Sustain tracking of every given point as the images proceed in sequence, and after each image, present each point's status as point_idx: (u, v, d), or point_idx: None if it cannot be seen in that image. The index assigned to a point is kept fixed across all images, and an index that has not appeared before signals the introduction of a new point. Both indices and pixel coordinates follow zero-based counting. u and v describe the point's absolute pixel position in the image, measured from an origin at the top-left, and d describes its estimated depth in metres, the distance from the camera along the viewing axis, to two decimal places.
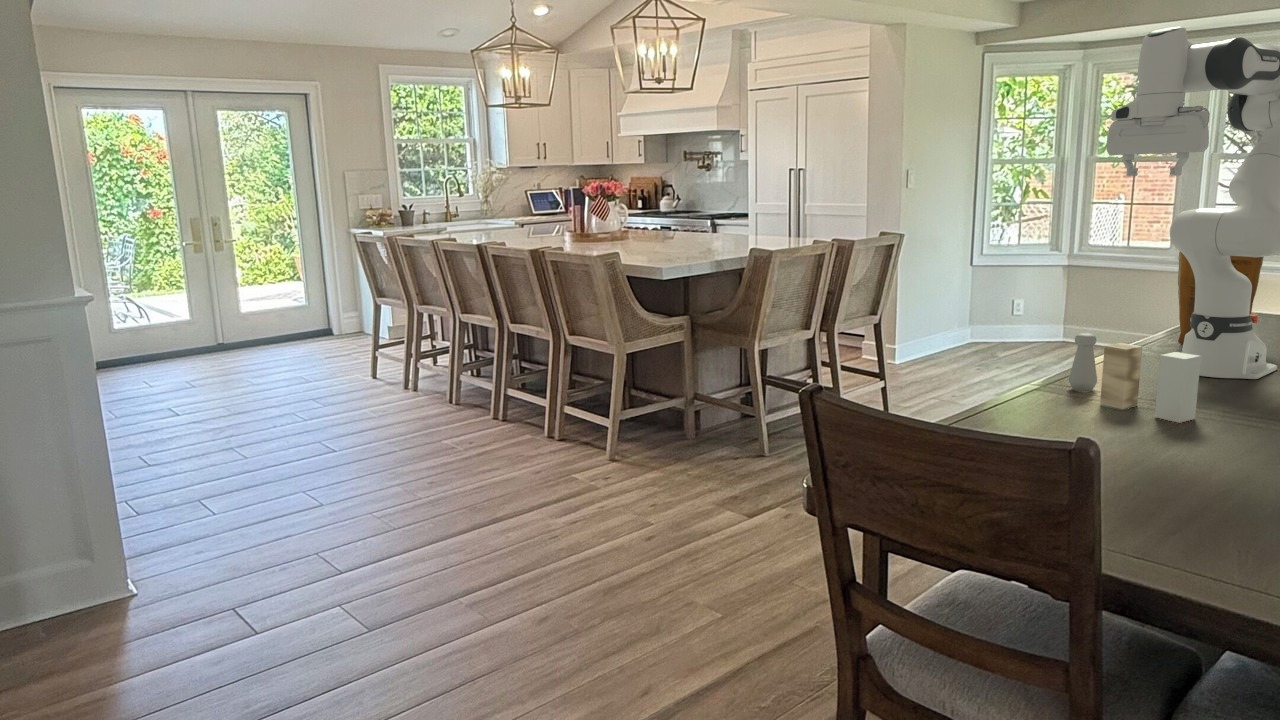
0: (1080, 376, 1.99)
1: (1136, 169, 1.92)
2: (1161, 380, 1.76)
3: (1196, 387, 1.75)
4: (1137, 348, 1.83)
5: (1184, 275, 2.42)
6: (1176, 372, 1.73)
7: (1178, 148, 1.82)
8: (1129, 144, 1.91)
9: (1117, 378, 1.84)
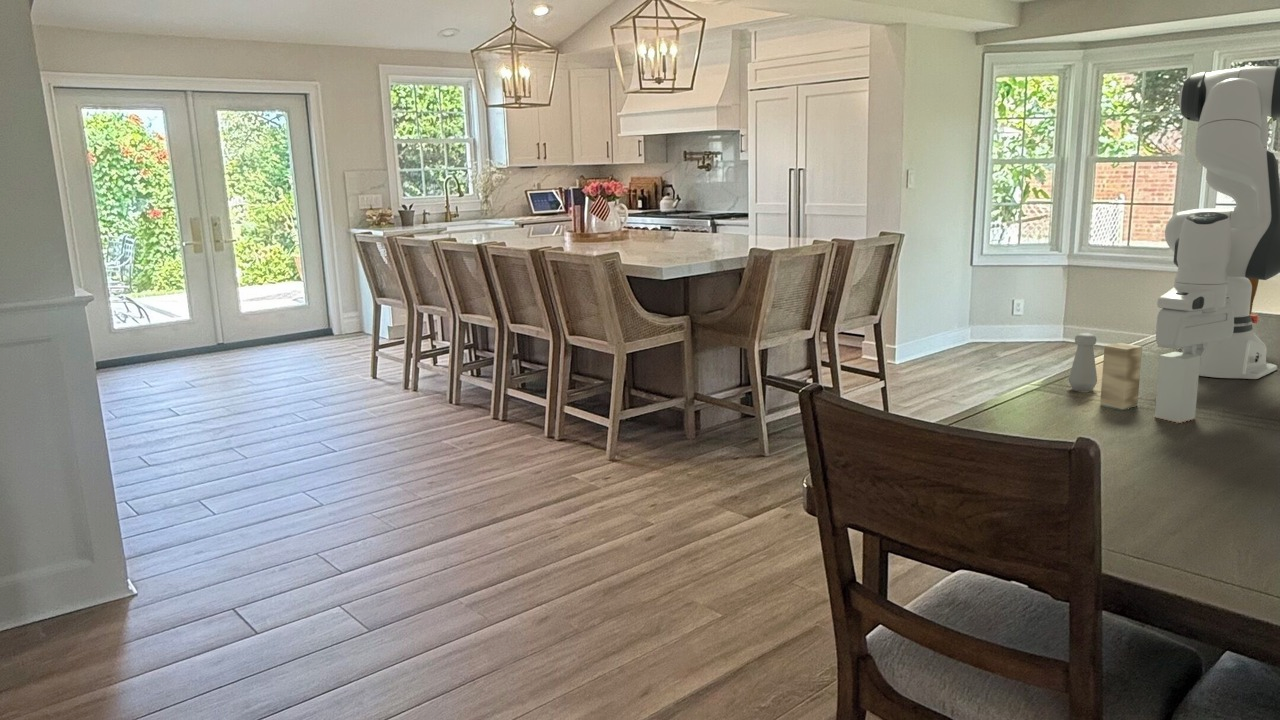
0: (1080, 376, 1.99)
1: None
2: (1160, 380, 1.76)
3: (1196, 387, 1.75)
4: (1137, 348, 1.83)
5: None
6: (1175, 372, 1.73)
7: (1222, 336, 1.77)
8: (1190, 335, 1.72)
9: (1117, 378, 1.84)
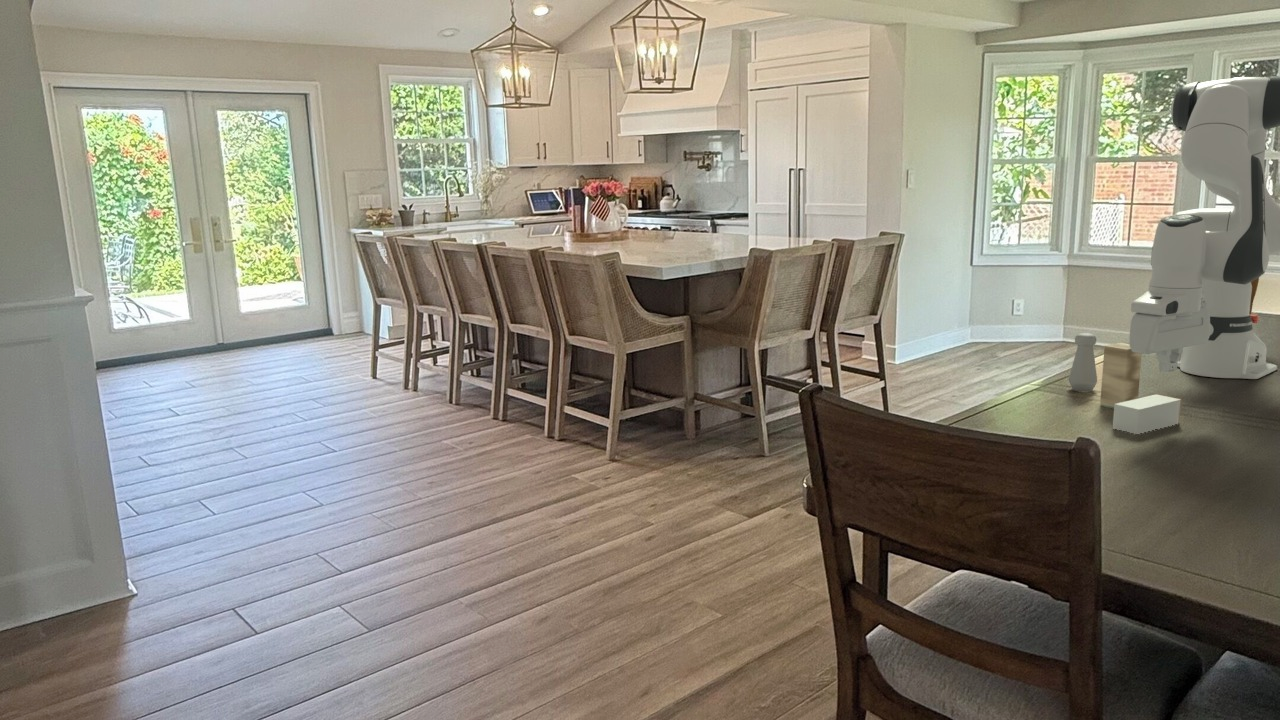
0: (1080, 376, 1.99)
1: None
2: None
3: (1159, 406, 1.70)
4: None
5: None
6: None
7: (1198, 340, 1.73)
8: (1165, 340, 1.68)
9: (1117, 378, 1.84)
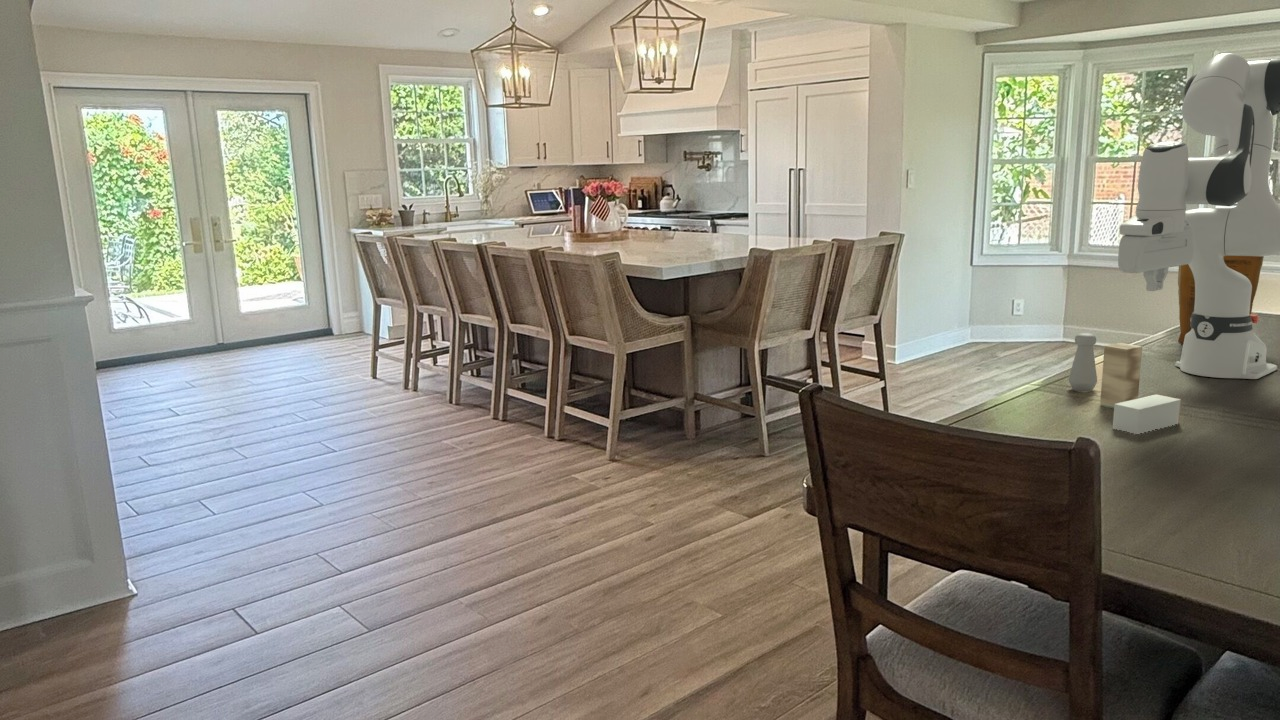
0: (1080, 376, 1.99)
1: None
2: None
3: (1159, 406, 1.70)
4: (1137, 348, 1.83)
5: (1184, 275, 2.42)
6: None
7: (1182, 261, 1.84)
8: (1151, 260, 1.79)
9: (1117, 378, 1.84)
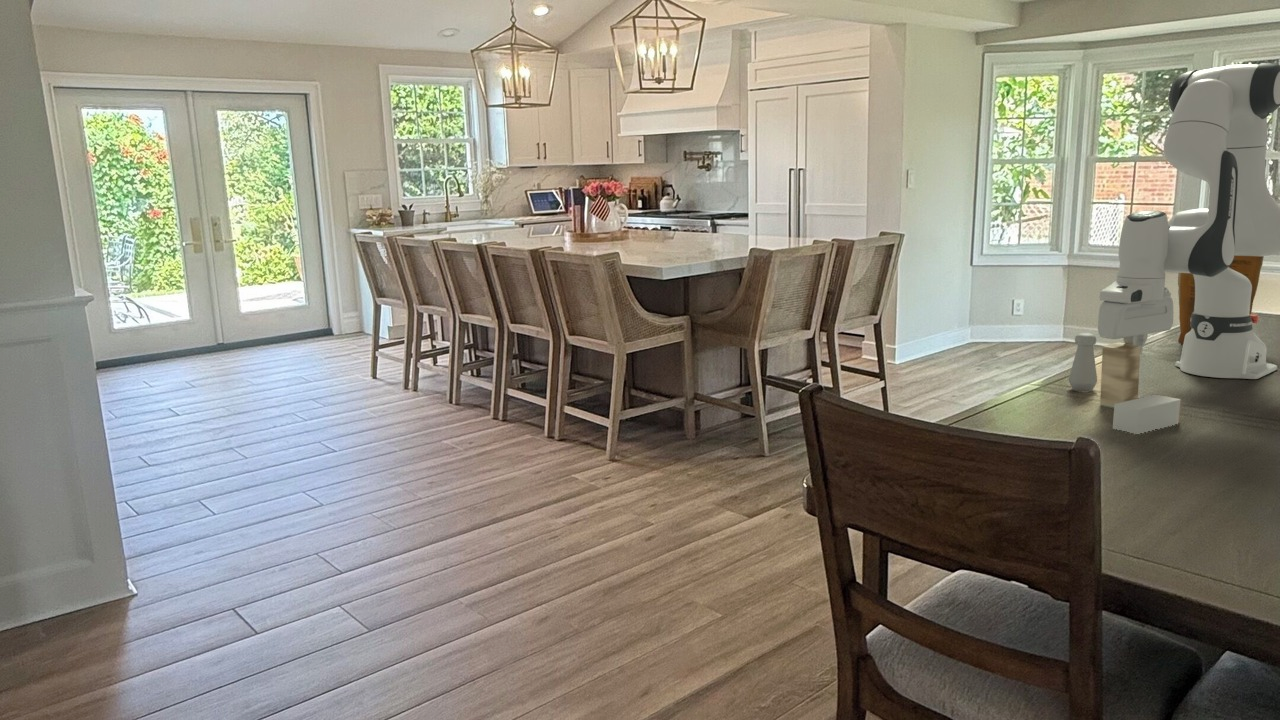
0: (1080, 376, 1.99)
1: None
2: None
3: (1159, 407, 1.70)
4: (1135, 348, 1.83)
5: (1184, 275, 2.42)
6: None
7: (1162, 327, 1.87)
8: (1130, 326, 1.82)
9: (1116, 378, 1.84)
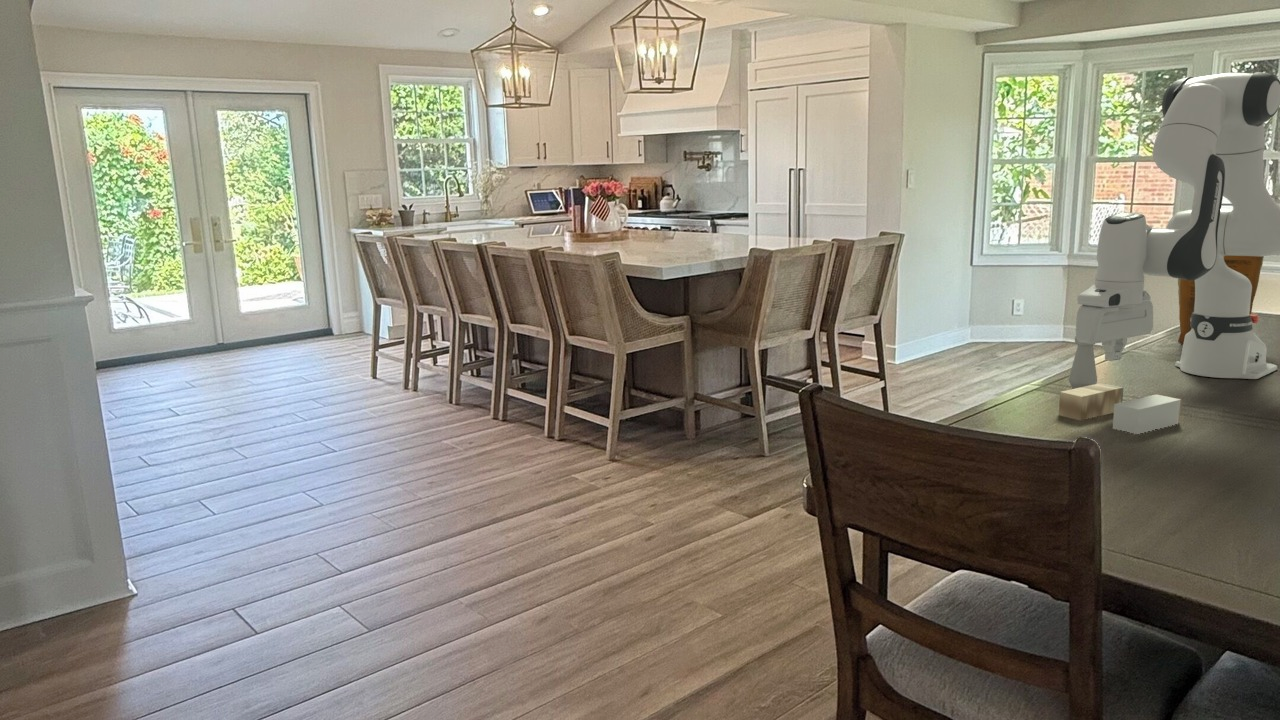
0: (1080, 376, 1.99)
1: None
2: None
3: (1159, 407, 1.70)
4: (1082, 403, 1.78)
5: None
6: None
7: (1141, 331, 1.84)
8: (1109, 331, 1.79)
9: None
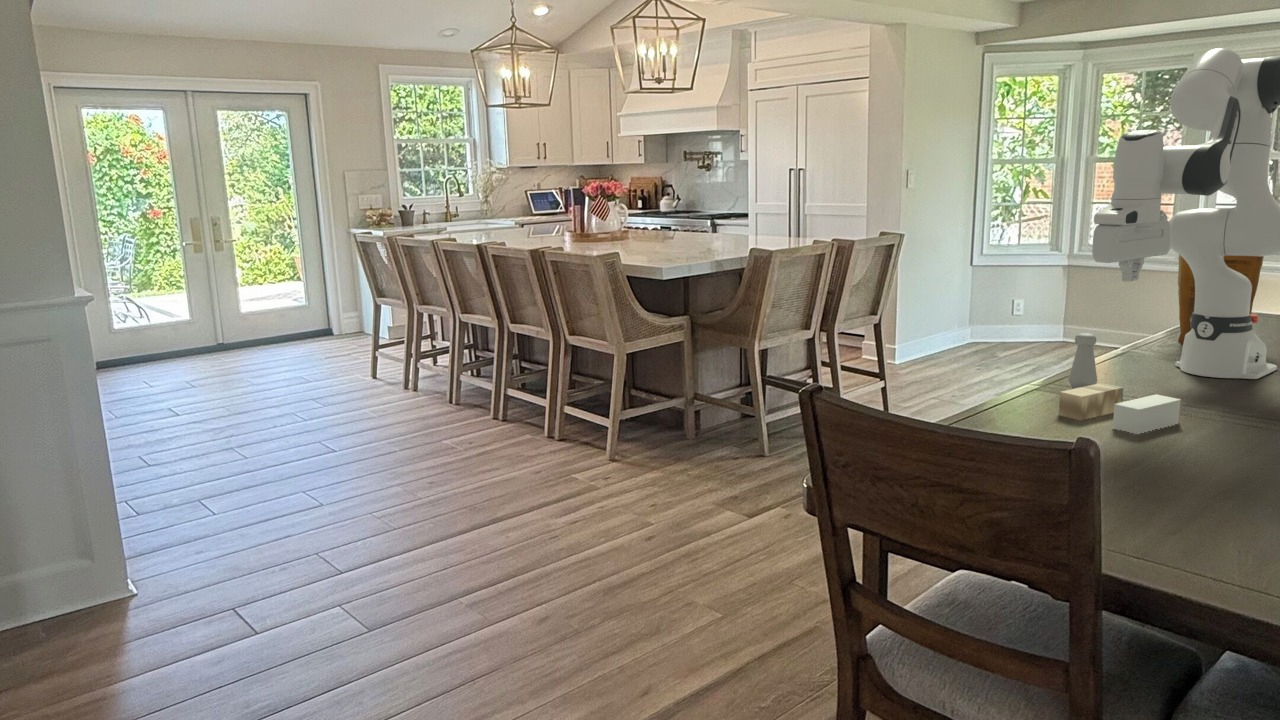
0: (1080, 376, 1.99)
1: None
2: None
3: (1159, 406, 1.70)
4: (1082, 403, 1.78)
5: (1184, 275, 2.42)
6: None
7: (1158, 251, 1.82)
8: (1126, 250, 1.77)
9: None
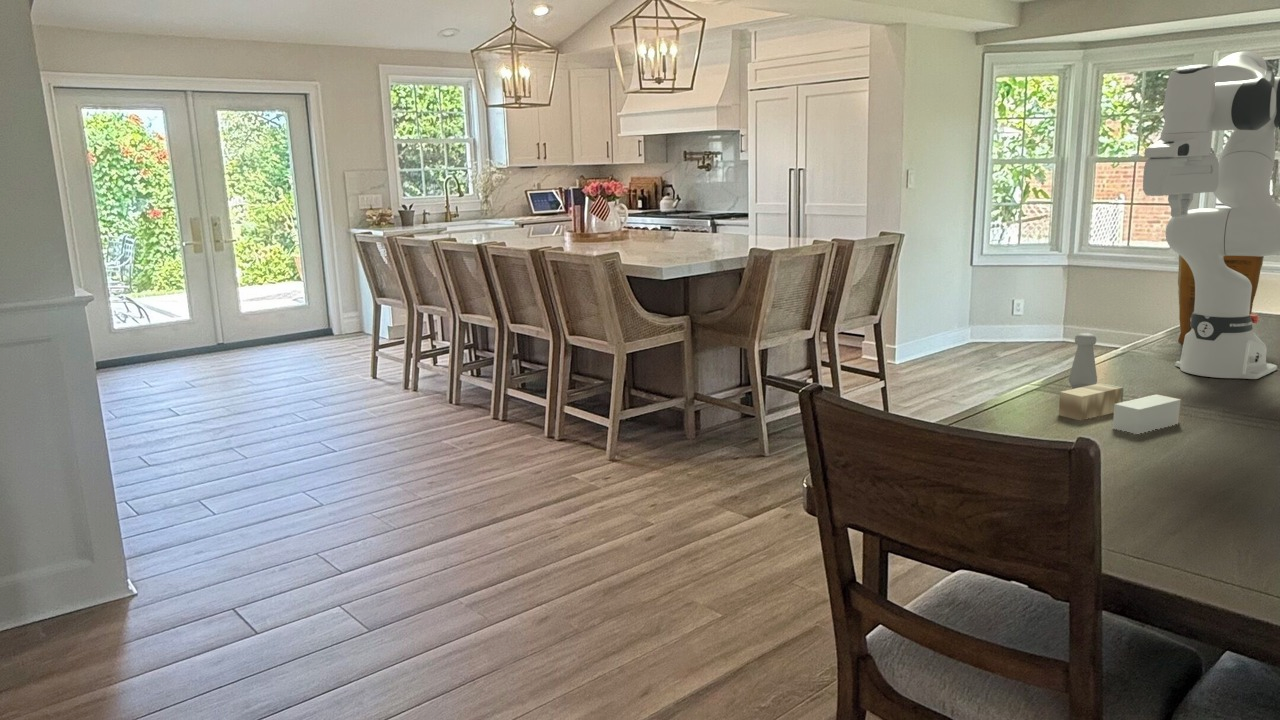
0: (1080, 376, 1.99)
1: None
2: None
3: (1159, 407, 1.70)
4: (1082, 403, 1.78)
5: (1184, 275, 2.42)
6: None
7: (1207, 188, 1.83)
8: (1176, 183, 1.78)
9: None
